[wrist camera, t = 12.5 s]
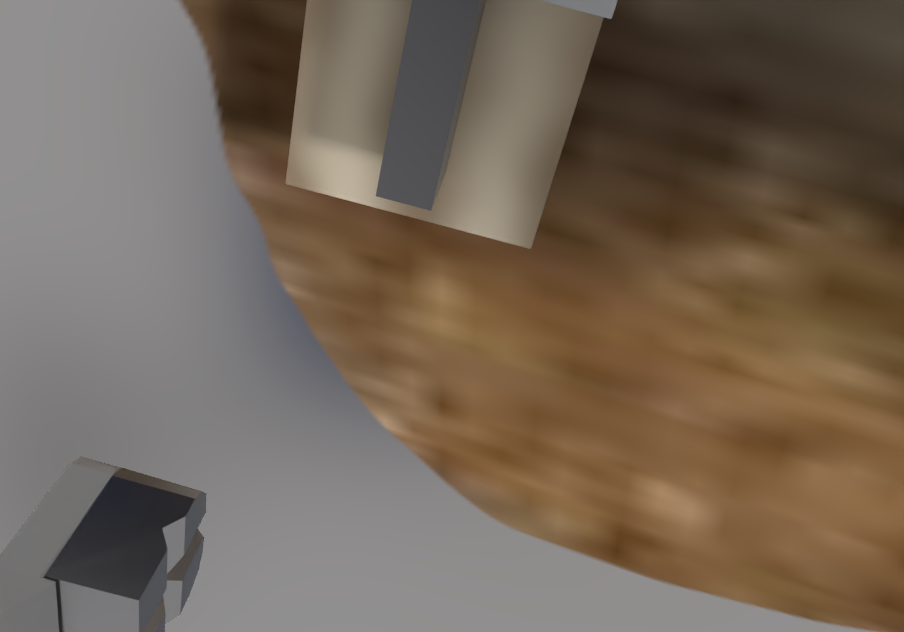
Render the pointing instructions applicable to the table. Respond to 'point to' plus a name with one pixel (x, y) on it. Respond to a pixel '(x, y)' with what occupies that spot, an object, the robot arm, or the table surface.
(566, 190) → the table surface
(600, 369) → the table surface
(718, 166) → the table surface
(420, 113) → the grey block
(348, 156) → the bench plate
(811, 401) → the table surface
